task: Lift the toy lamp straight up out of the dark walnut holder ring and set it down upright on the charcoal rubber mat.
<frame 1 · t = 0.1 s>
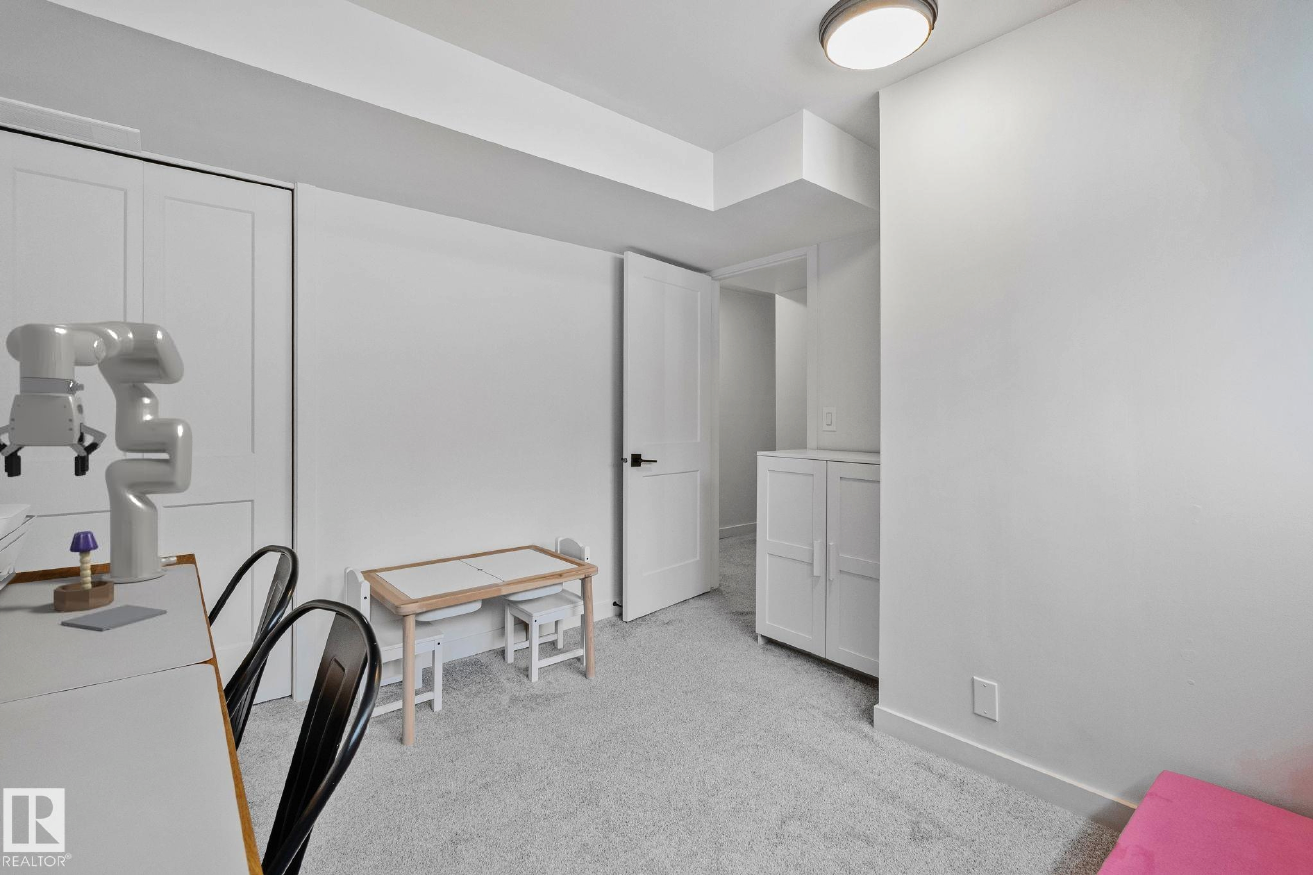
hand: (47, 476, 116), 31 cm above the table, tool pointing down, fingers open, 9 cm apart
holder ring: (84, 605, 135), on the table
mat: (115, 618, 127), on the table
toy lamp: (84, 606, 135), resting in holder ring
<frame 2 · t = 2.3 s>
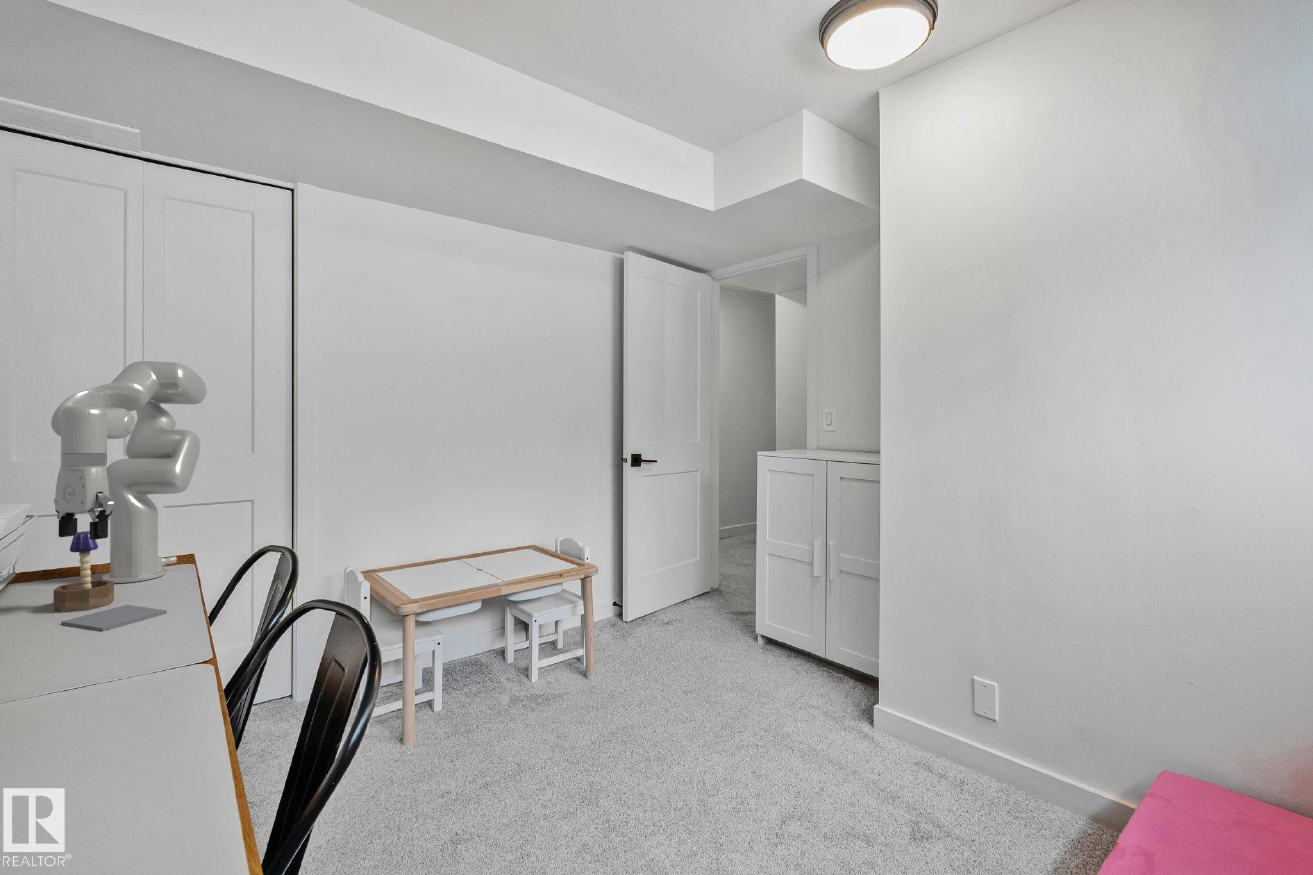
hand: (83, 537, 134), 16 cm above the table, tool pointing down, fingers open, 9 cm apart
nothing on the table moved.
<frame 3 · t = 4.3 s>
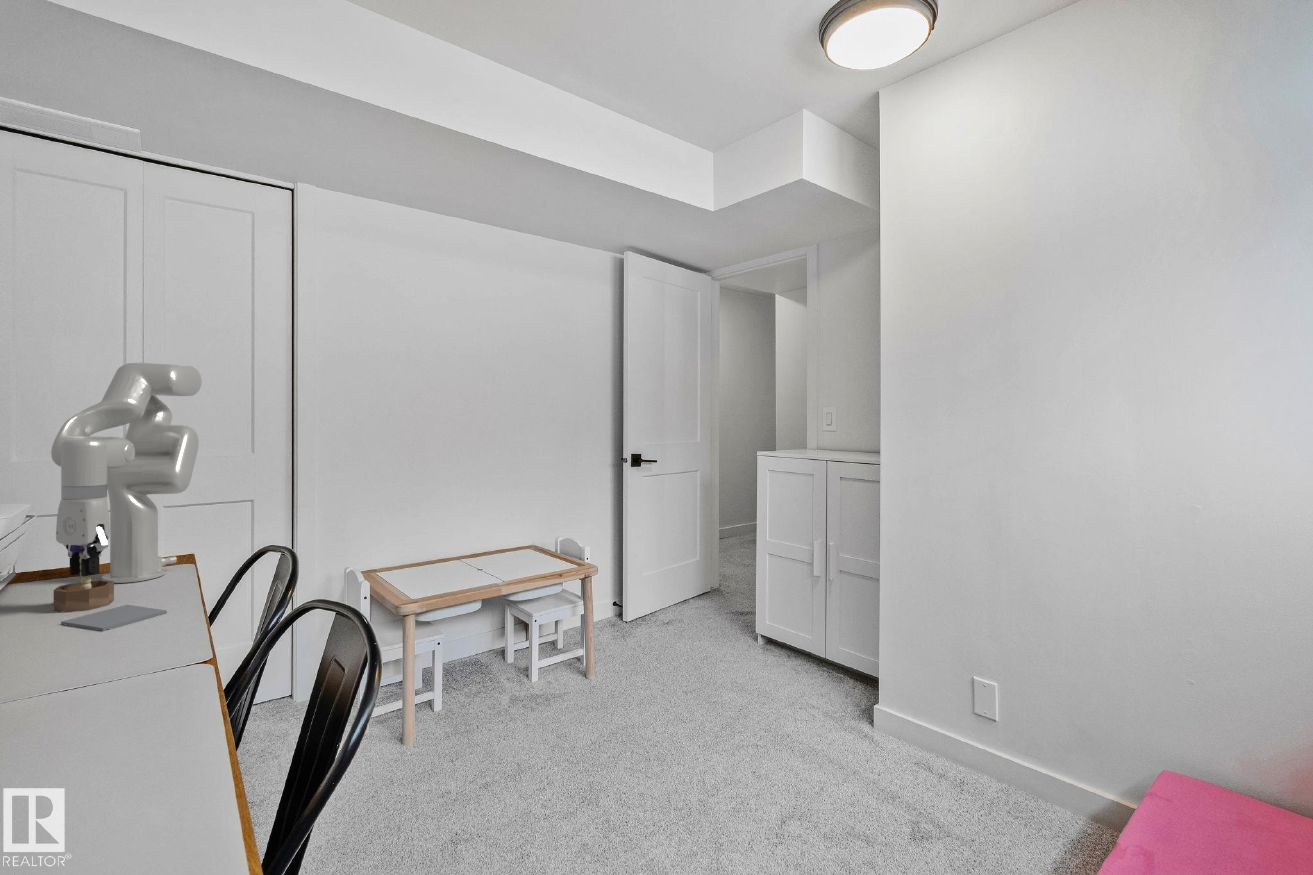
hand: (84, 573, 134), 7 cm above the table, tool pointing down, fingers closed on toy lamp, 2 cm apart
toy lamp: (84, 606, 135), resting in holder ring, touching gripper
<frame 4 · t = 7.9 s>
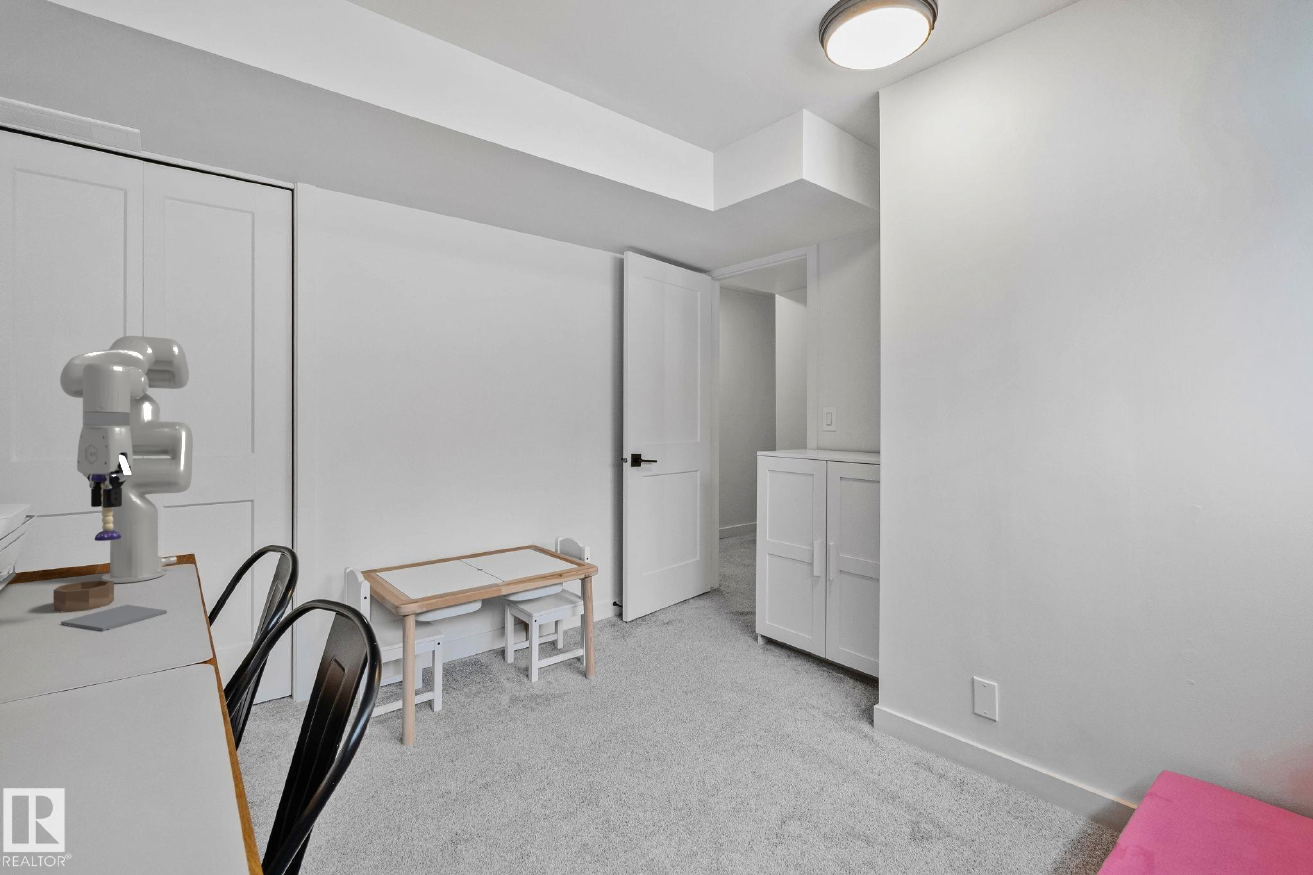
hand: (106, 505, 128), 24 cm above the table, tool pointing down, fingers closed on toy lamp, 2 cm apart
toy lamp: (105, 540, 128), point 16 cm above the table, touching gripper
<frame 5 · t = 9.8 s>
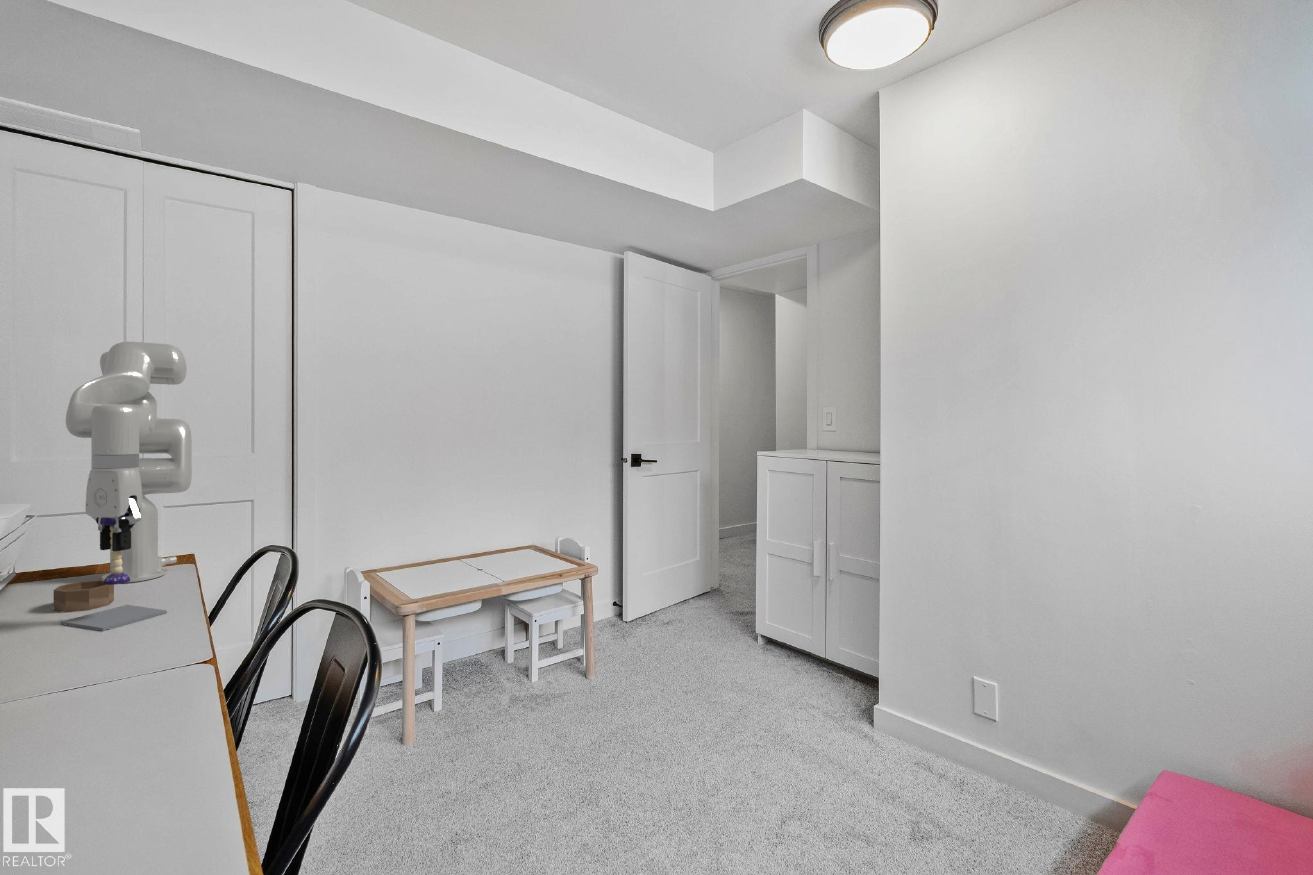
hand: (115, 548, 126), 15 cm above the table, tool pointing down, fingers closed on toy lamp, 2 cm apart
toy lamp: (114, 583, 126), point 8 cm above the table, touching gripper
when the fingers open (10 cm above the table, at t = 11.5 s): toy lamp drops 2 cm, resting on mat.
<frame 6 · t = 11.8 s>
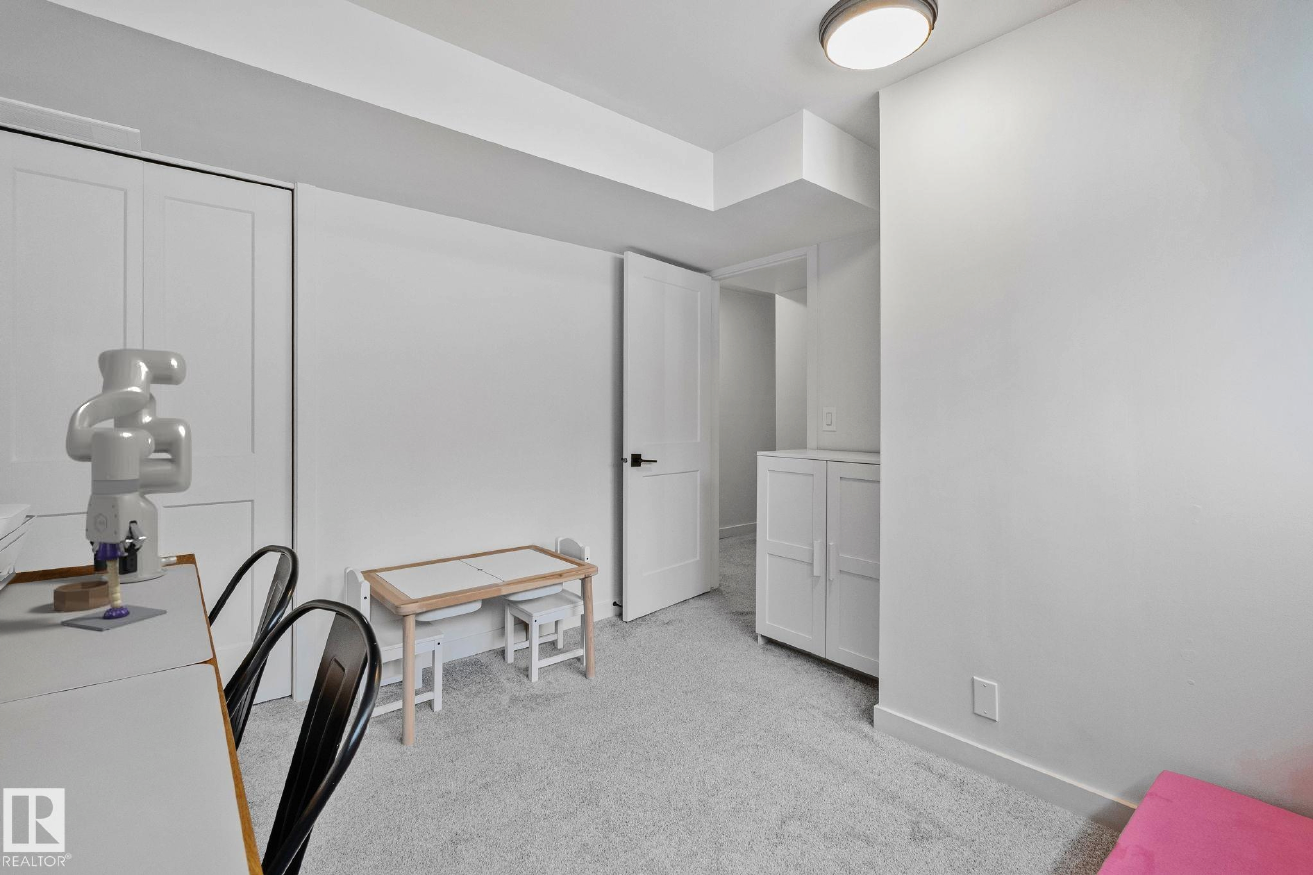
hand: (115, 571, 126), 10 cm above the table, tool pointing down, fingers open, 6 cm apart
toy lamp: (114, 617, 126), resting on mat
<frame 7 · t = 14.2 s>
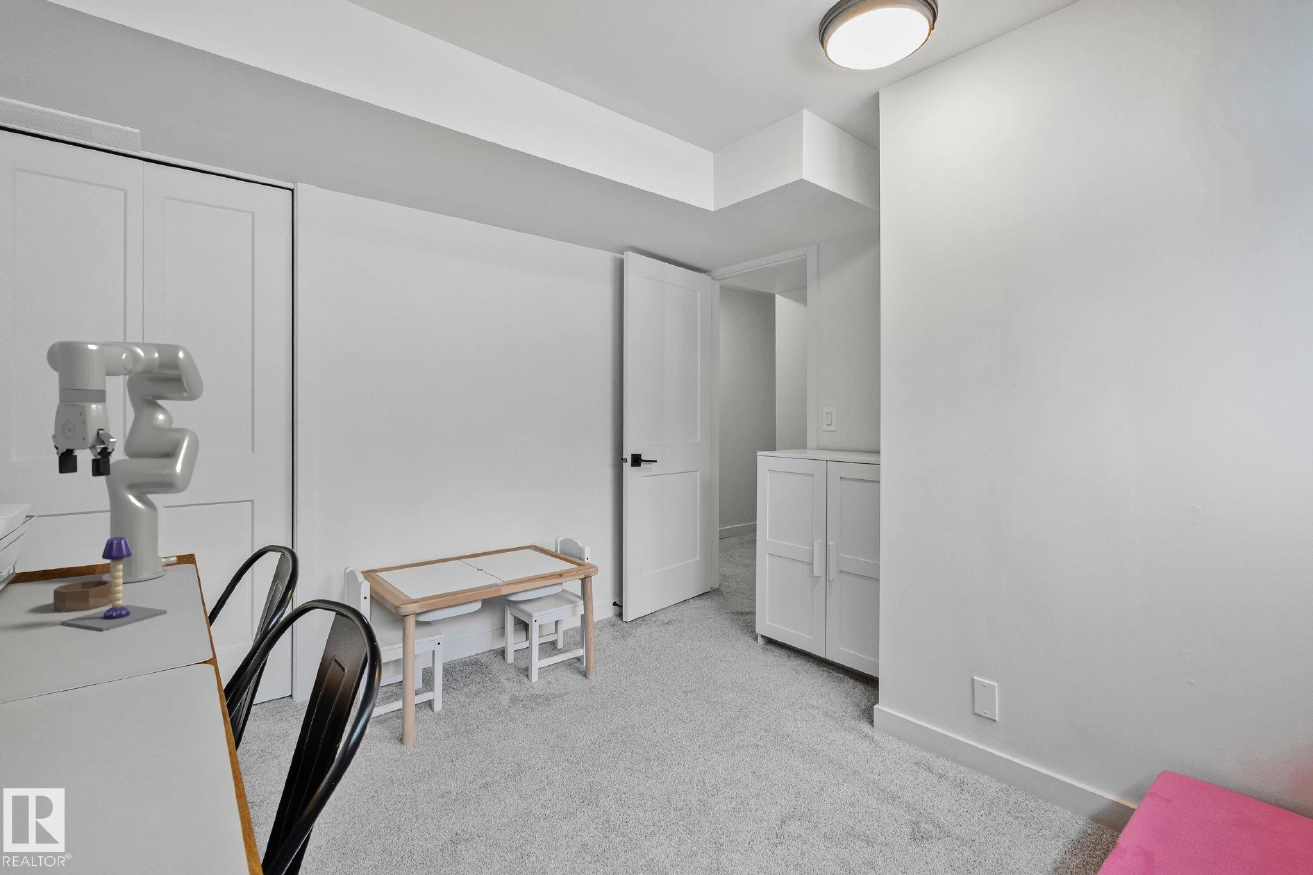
hand: (84, 474, 133), 30 cm above the table, tool pointing down, fingers open, 9 cm apart
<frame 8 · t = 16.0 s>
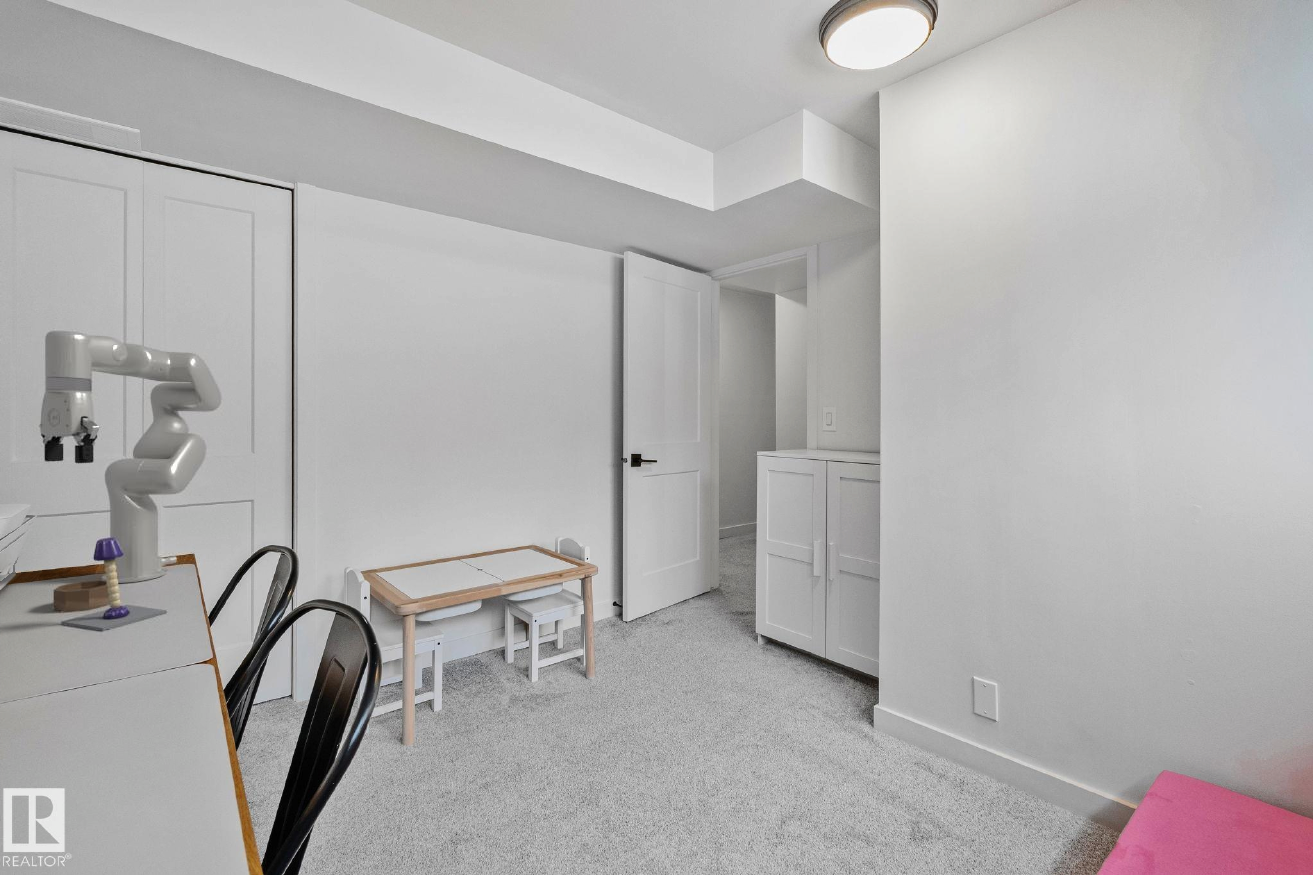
hand: (69, 462, 135), 32 cm above the table, tool pointing down, fingers open, 9 cm apart
at the end: toy lamp inside the target area on the mat (0.7 cm from its centre), point 0.5 cm above the mat's base; toy lamp tilted 4°; the gripper is holding nothing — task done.
